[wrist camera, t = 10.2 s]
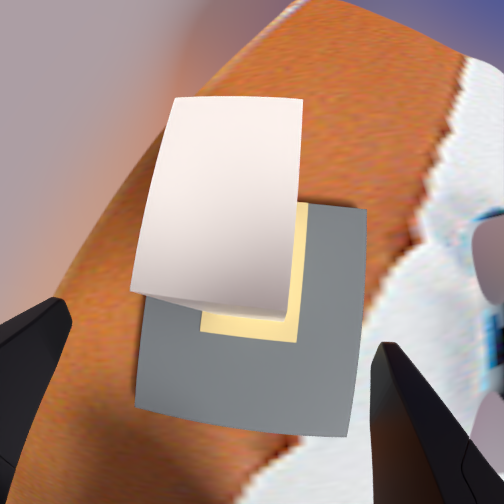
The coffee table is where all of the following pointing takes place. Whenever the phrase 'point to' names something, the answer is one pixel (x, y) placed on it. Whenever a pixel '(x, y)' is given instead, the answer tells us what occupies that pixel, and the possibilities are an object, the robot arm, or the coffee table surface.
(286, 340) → the board
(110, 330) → the coffee table surface
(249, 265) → the panel
